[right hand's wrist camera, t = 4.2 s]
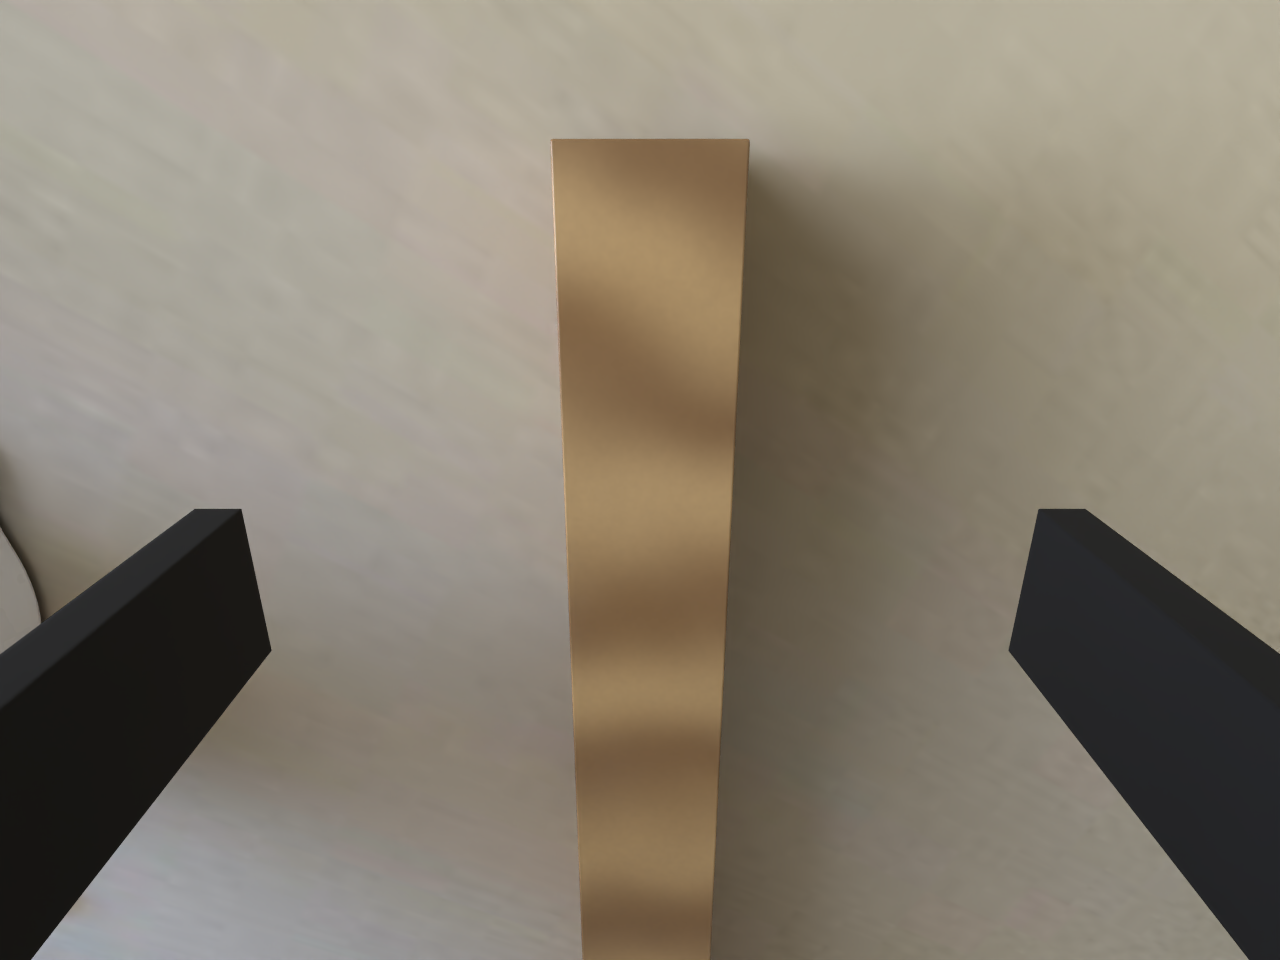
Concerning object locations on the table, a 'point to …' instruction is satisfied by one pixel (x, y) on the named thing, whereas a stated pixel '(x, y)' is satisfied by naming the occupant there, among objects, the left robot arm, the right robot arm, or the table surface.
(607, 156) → the post
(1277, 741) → the right robot arm
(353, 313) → the table surface
